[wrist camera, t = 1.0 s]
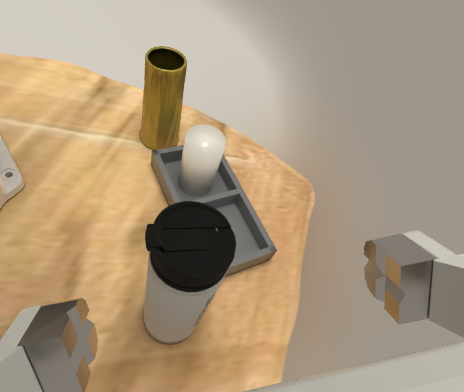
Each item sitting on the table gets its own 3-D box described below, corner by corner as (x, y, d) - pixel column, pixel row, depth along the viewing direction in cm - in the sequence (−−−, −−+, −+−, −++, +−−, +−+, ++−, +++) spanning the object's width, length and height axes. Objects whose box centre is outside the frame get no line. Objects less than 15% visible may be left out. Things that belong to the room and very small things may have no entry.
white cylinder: (172, 171, 51) (179, 127, 43) (204, 164, 53) (216, 121, 46) (185, 199, 48) (194, 158, 41) (218, 191, 51) (232, 150, 43)
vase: (137, 149, 52) (139, 69, 41) (141, 121, 56) (143, 40, 44) (178, 153, 54) (190, 77, 42) (179, 126, 57) (190, 48, 46)
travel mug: (139, 292, 40) (143, 196, 24) (194, 287, 42) (232, 194, 26) (141, 349, 37) (147, 280, 21) (201, 340, 39) (249, 271, 23)
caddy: (151, 164, 51) (152, 150, 49) (211, 152, 55) (214, 139, 53) (202, 285, 42) (206, 276, 40) (269, 259, 47) (277, 250, 44)
